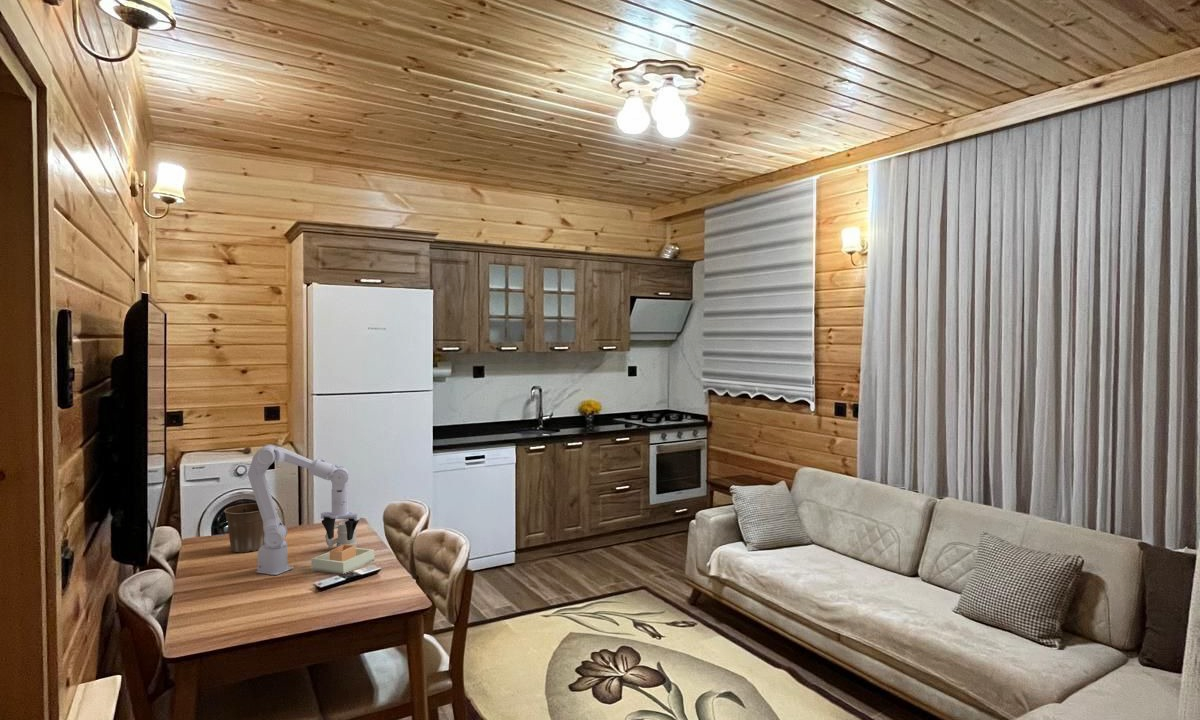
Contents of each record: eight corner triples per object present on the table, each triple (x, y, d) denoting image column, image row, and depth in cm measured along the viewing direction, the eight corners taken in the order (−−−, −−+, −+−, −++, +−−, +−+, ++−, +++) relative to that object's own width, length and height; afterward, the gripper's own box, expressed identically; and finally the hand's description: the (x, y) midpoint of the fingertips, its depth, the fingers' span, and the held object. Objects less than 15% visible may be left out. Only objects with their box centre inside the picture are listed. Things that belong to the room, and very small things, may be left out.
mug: (360, 548, 264) (359, 517, 264) (328, 554, 257) (327, 522, 257) (354, 544, 270) (354, 514, 270) (323, 549, 263) (322, 518, 263)
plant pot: (258, 555, 256) (257, 512, 256) (215, 555, 257) (215, 512, 256) (278, 542, 273) (278, 502, 272) (239, 542, 273) (238, 503, 273)
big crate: (311, 570, 238) (311, 558, 238) (343, 556, 253) (343, 546, 253) (343, 574, 233) (343, 562, 233) (374, 560, 248) (374, 549, 248)
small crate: (329, 566, 240) (329, 550, 240) (343, 559, 247) (343, 544, 247) (342, 567, 238) (341, 551, 238) (355, 560, 246) (355, 545, 246)
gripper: (315, 502, 241) (315, 540, 241) (351, 504, 238) (352, 543, 238) (327, 498, 248) (327, 535, 248) (362, 500, 245) (363, 537, 245)
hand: (340, 539), depth 244 cm, fingers open, 7 cm apart
